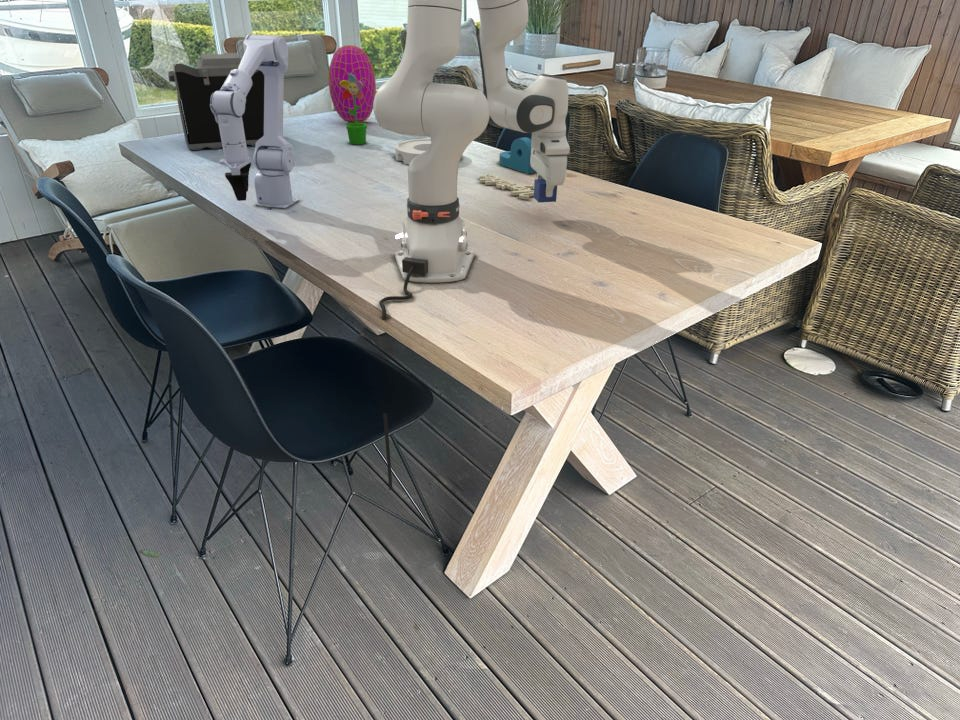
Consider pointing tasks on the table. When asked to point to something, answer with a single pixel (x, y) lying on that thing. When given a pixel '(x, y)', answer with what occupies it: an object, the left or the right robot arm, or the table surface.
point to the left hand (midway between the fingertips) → (242, 195)
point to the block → (543, 191)
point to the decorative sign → (508, 186)
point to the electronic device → (197, 94)
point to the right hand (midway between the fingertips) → (545, 192)
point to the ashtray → (411, 149)
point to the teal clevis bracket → (518, 156)
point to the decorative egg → (340, 66)
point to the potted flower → (354, 129)
